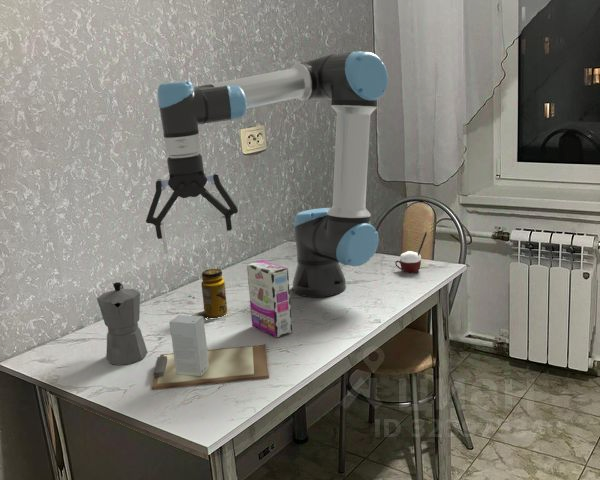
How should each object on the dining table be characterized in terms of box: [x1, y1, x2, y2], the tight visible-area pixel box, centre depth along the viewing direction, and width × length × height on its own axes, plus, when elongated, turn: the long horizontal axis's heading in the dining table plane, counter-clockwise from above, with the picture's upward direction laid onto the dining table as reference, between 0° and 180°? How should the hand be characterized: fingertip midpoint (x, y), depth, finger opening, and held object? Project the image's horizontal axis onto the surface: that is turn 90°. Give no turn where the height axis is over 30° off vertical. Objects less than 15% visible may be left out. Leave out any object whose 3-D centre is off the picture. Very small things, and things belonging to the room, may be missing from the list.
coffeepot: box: [96, 282, 149, 366], centre depth 150 cm, size 15×9×18 cm, turn 13°
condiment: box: [192, 268, 234, 323], centre depth 173 cm, size 7×8×12 cm
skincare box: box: [169, 314, 209, 376], centre depth 138 cm, size 6×4×12 cm
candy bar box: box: [246, 260, 293, 338], centre depth 160 cm, size 11×5×16 cm, turn 37°
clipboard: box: [151, 343, 270, 391], centre depth 143 cm, size 24×16×2 cm, turn 95°
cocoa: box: [394, 231, 428, 274], centre depth 197 cm, size 10×6×12 cm, turn 57°
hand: (197, 248), depth 149 cm, fingers open, 13 cm apart
